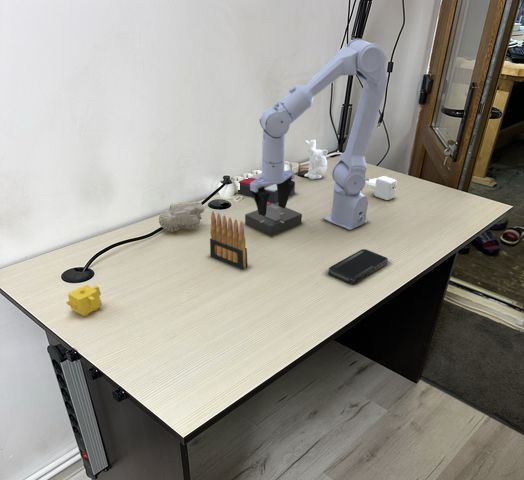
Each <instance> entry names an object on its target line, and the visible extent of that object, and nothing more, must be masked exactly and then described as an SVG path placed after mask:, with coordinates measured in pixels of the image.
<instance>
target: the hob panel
mask: <svg viewBox="0 0 524 480" xmlns="http://www.w3.org/2000/svg"><path fill="white" fill-rule="evenodd" d="M272 204H273V203H272ZM273 205H276V206H278V207H279V205H278V202H277V203H274V204H273ZM302 218H303V214H302V213H300V212H298V211H295V210H293V209H291V208H289V207H287V206H286V207H285V208H282V207H281V214H280V220H277V221H275V220H272V219H270V218H268V217H265V216H262V215H260V214H259V213H258V209H256V210H253V211H251V212H248V213H246V214H244V224H245V226H247V227H249V228H252V229H254V230H256V231H257V232H260V233H263V234H264V235H267V236H269V237H270V238H272V237H274V236H277V235H279V234H280V233H284V232H286V231H287V230H290V229H293V228H295V227H297V226H299V225H302Z"/></svg>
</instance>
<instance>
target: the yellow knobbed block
mask: <svg viewBox="0 0 524 480" xmlns="http://www.w3.org/2000/svg"><path fill="white" fill-rule="evenodd" d="M101 295H102V293H101V289H100V287H99V286H98V285H95V286H92V287H91V286H90V285H87V284H85V285H82V286H80V287H78V288H76V289H74V290H72V291H71V292H69V293H68V295H67V296H68V300H67V301H66V302H65V304H67V305H68V306H70V309H71V310H72V311H74V312H76V313H77V314H79V315H81V316H83V317H87V316H89V314H90V313H92V312H93V311H95V312H96V311H98V310H99V308H100V307H102V300H101V297H100V296H101Z"/></svg>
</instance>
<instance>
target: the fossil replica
mask: <svg viewBox="0 0 524 480" xmlns="http://www.w3.org/2000/svg"><path fill="white" fill-rule="evenodd" d="M204 212H205V206H204V205H203V203H202V202H199V201H191V202H188V201H187V202H184V201H183V202H179V203H178V202H177V203H171V204H170V206H169V209H166V210H165V211H163V212H162V213H161V214H160V215H159V216H158V224H159V226H160V227H161V228H162V229H163V230H165V231H166V232H168V233H169V232H172V233H174V232H178V231H181V230H182V229H185V230H188V231H189V230H195V229H197V228H198V227H199V226H200V224H201V220H202V216H201V214H203V213H204Z"/></svg>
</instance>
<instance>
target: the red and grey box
mask: <svg viewBox="0 0 524 480" xmlns="http://www.w3.org/2000/svg"><path fill="white" fill-rule="evenodd" d="M256 174H257V175H255V174H253V175H254V176H253V175H251V176H252V177H251V176H250V177H251V178H250V177H247V178H248V179H246V178H244V179H241V180H240V181H238V183H239V182H240V190H238V189H237V193H238V194H242V195H245V196H248V197H249V196H250V197H253V195H252V194H251V192H250V183H251V182H254V181H255V180H257V179H258V178H260V174H261V173H260V174H258V173H256ZM264 190H266V192H269V193H270V195H269V197H268V201H267V203H268V202H270V203H272V204H274V203H277V204H278V190H277V185H276V184H274V185H271V186H268V187H265V188H264ZM295 193H296V185H295V186H294V187H293V189H292V191H291V193H290V195H289V197H291V196H293V195H295Z"/></svg>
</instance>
